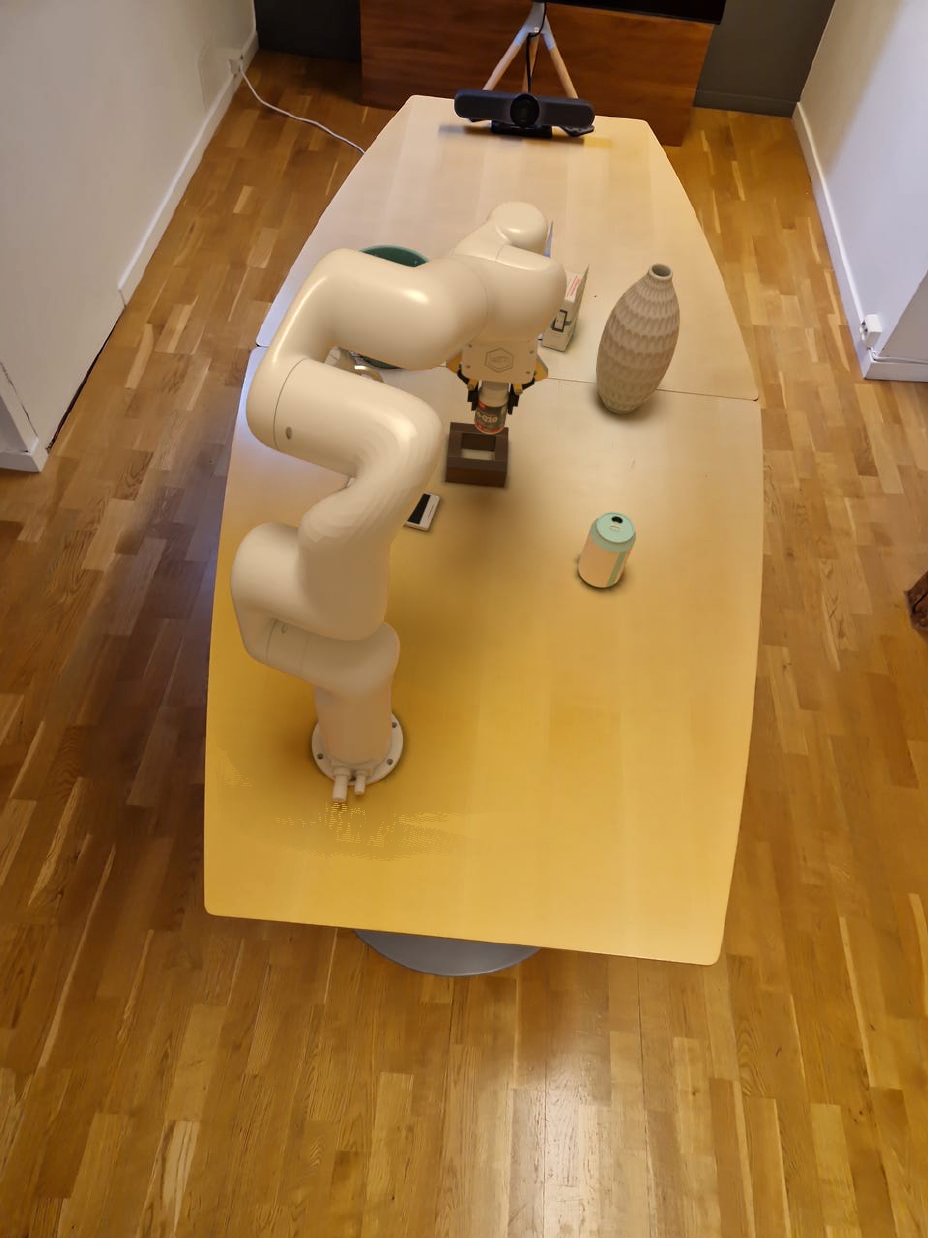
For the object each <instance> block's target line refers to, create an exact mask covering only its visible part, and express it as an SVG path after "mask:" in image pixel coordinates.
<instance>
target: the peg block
mask: <svg viewBox="0 0 928 1238" xmlns="http://www.w3.org/2000/svg"><path fill="white" fill-rule="evenodd" d="M509 431H510V428H509V427H508V426H504V428H503V429H502V430H501V431H500V432H498V433H495V434H486V433H483V432H481V431H480V430H478V429H477V428H476V426H475V423H468V422H458V421H450V423H449V434H448V446H447V456H446V466H445V467H446V468H445V479H444V482H446V483H457V484H466V485H477V486H478V485H479V486H488V487H498V488H499V487H500V488H505V485H506V480H507V474H508V457H509V456H508V455H509ZM462 449H468V450H476V451H477V450H478V451H488V452H492V453H493V454H492V459H480V458H469V457H461V455H462V454H461V453H462Z"/></svg>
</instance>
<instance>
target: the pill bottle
mask: <svg viewBox="0 0 928 1238" xmlns="http://www.w3.org/2000/svg"><path fill="white" fill-rule="evenodd" d="M480 384H481V385H480V386H479V387H478V397H477V405H476V410H475V411H474V417H473V418H474V420H473V421H474V423H473V424H475V426H476V428H477V429H478V430H480V431H481V432H483V433H486V434H495V433H498V432H500V431H501V430H502V429H503V428H504V427H506V420H507V416H508V414H507V411H508V403H509V396H510V394H509V391H510V383H501V382H491V381H482V380H481V383H480Z"/></svg>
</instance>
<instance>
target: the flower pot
mask: <svg viewBox="0 0 928 1238" xmlns="http://www.w3.org/2000/svg"><path fill="white" fill-rule="evenodd" d="M358 251H359V252H362V253H366V254H369V255H372V256H375V257H378V258H382V259H385V260H388V261H391V262H394V263H398V264H401V265H405V266H408V267H417V266H419V265H422V264H425V263H427V262H429V261H430V260H429V259H428V258H427V257H426V256H424V255H423V254H421V253H420V252H418V251H416V250H413V249H411V248H408V247H404V246H400V245H393V244H392V245H391V244H379V245H373V246H368V247H365V248H362V249H360V250H358ZM359 355H360V356H361V357H362V358H363V359H364V360H367V361H369V362H370V363H371V364H372V365H373V366H376V367H380V368H385V369H386V368H387V369H388V368H389V369H392V368H398V367H397V366H394V365H391V364H388V363H385V362H382V361H379V360H376V359H373V358H370V357H367V356H364V355H361V354H359Z"/></svg>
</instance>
